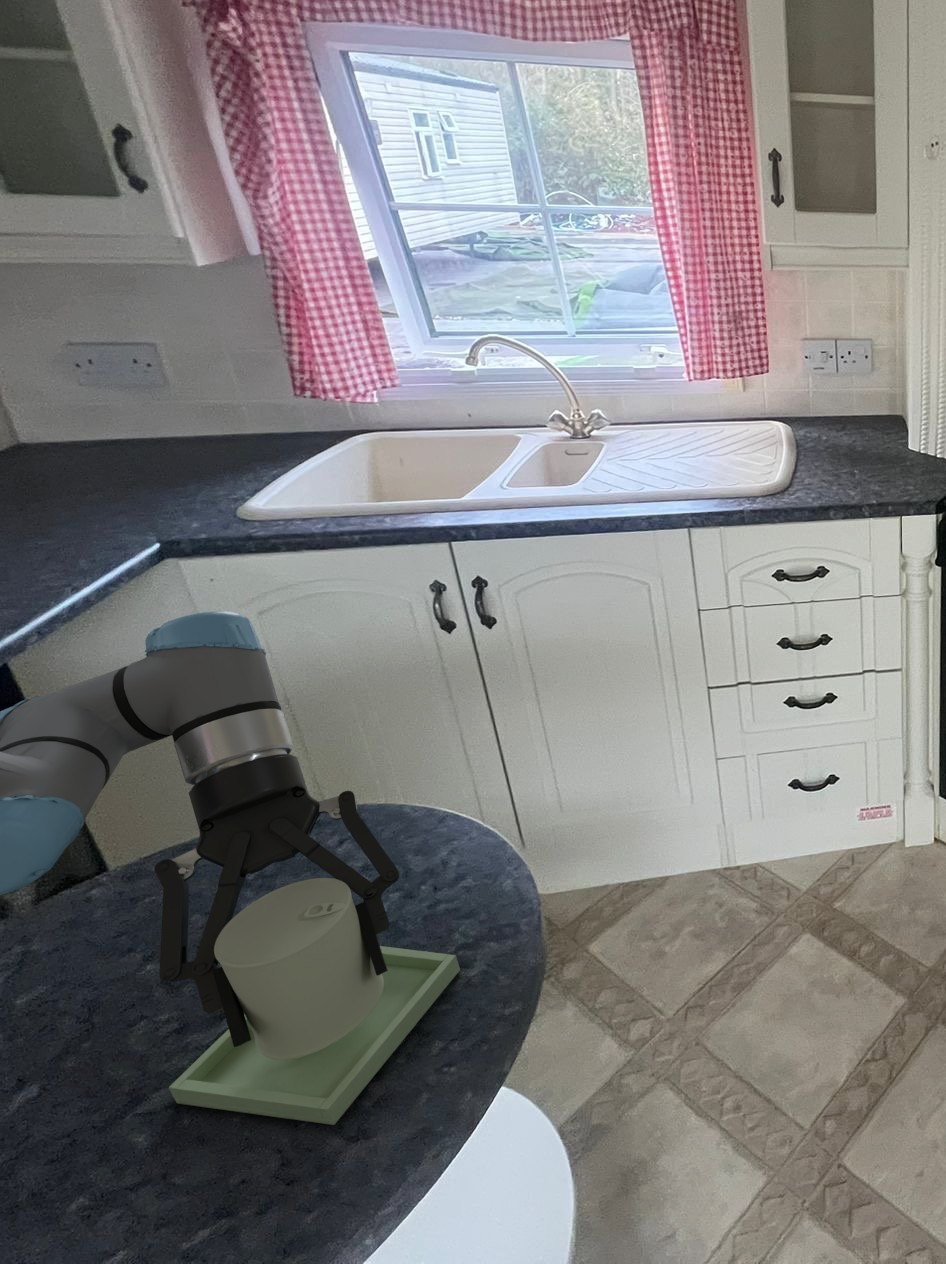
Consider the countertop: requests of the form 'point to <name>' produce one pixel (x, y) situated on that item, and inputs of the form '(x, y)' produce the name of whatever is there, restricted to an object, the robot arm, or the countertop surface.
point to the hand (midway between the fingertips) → (315, 1006)
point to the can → (300, 967)
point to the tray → (320, 1052)
